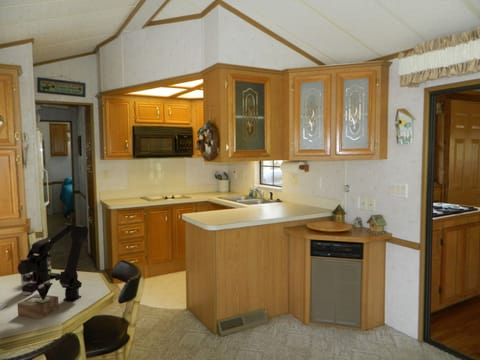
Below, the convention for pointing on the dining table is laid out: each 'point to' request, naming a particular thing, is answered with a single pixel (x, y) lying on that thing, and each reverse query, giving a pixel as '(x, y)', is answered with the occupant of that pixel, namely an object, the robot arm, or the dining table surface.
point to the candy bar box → (26, 283)
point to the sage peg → (43, 300)
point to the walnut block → (37, 307)
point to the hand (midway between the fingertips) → (43, 299)
